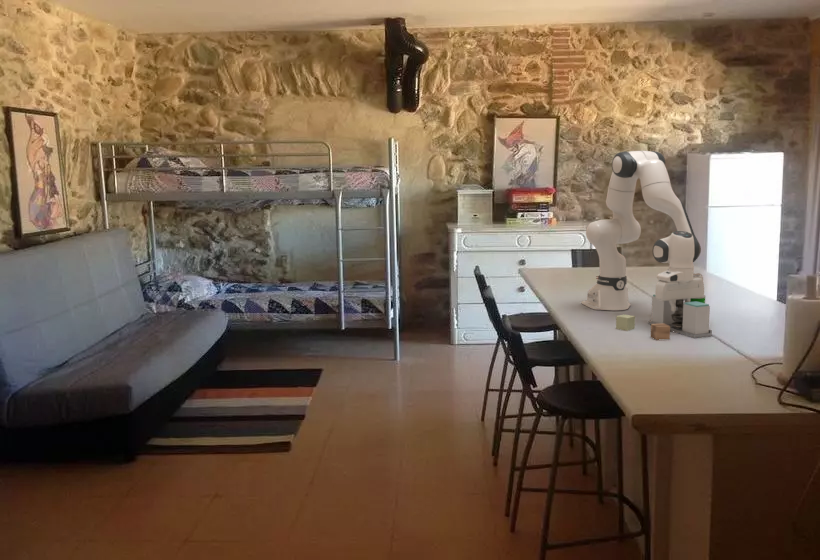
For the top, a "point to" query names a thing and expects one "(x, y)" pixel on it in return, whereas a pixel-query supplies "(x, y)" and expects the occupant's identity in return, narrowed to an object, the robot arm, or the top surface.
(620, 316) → the block olive
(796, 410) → the top surface
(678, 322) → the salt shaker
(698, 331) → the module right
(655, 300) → the block
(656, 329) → the block walnut
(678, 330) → the rail
